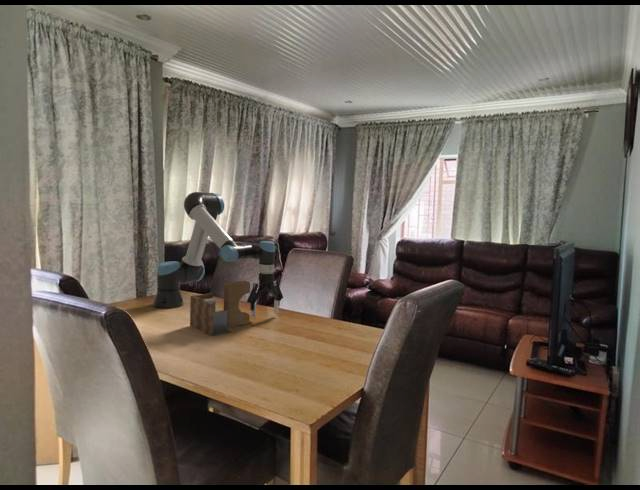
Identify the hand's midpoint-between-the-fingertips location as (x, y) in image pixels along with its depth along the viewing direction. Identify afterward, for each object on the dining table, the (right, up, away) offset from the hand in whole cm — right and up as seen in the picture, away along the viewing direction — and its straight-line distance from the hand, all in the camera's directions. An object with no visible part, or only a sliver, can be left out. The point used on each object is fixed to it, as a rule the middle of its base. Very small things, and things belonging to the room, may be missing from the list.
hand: (265, 314), depth 205 cm
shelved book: (-26, -2, -15) cm, 30 cm away
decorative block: (-12, -3, -11) cm, 17 cm away
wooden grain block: (-22, -3, -20) cm, 29 cm away
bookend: (-17, -4, -24) cm, 30 cm away
